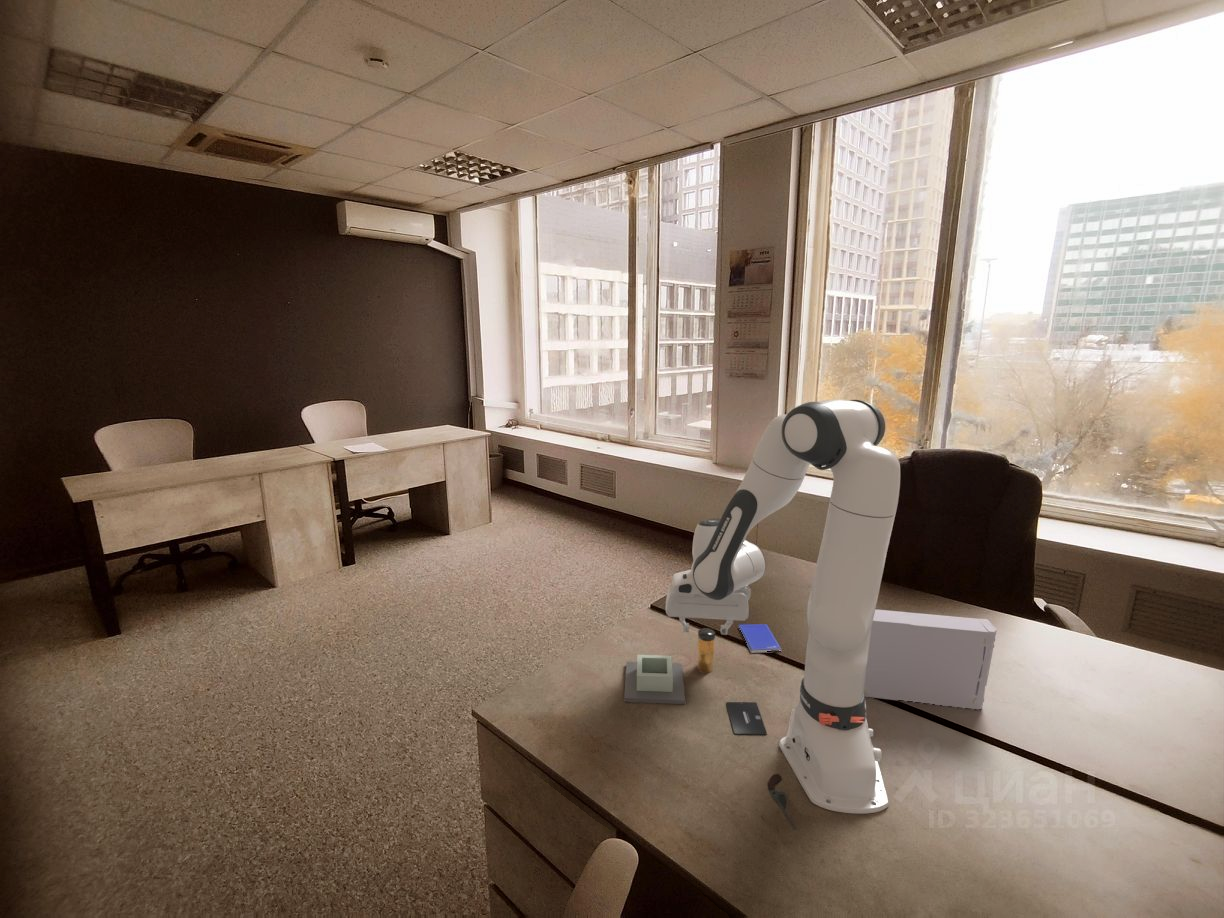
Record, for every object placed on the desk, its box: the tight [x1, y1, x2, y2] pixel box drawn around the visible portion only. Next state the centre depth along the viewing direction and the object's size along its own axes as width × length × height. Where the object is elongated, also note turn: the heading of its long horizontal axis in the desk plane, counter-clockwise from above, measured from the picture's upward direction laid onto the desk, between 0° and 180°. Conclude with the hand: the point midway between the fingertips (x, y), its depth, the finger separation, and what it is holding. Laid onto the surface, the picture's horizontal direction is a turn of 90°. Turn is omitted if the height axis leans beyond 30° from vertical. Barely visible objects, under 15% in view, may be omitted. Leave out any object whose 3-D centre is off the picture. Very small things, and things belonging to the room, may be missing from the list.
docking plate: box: [624, 654, 686, 705], centre depth 132 cm, size 14×14×5 cm
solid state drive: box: [725, 701, 768, 736], centre depth 121 cm, size 7×10×1 cm
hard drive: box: [738, 623, 782, 654], centre depth 151 cm, size 2×8×12 cm
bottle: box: [696, 627, 716, 674], centre depth 137 cm, size 4×4×10 cm
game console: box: [864, 609, 998, 710], centre depth 125 cm, size 6×27×20 cm, turn 78°
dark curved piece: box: [767, 773, 798, 831], centre depth 99 cm, size 14×4×1 cm, turn 14°
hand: (704, 632), depth 137 cm, fingers open, 8 cm apart
